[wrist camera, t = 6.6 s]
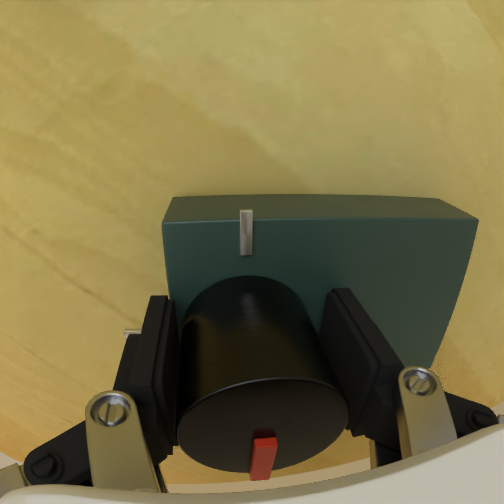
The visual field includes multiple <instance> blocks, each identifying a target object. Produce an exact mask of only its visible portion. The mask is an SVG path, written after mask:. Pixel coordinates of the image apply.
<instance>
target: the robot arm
mask: <svg viewBox="0 0 504 504" xmlns="http://www.w3.org/2000/svg"><path fill="white" fill-rule="evenodd" d="M319 338H320V340H321V343H322V345H323V347H324V349H325V351H326V353H327V356H328V358H329V360H330V362H331V364H332V367H333V369H334V371H335V373H336V375H337V378H338V380H339V382H340V384H341V386H342V389H343V391H344V393H345V395H346V397H347V400H348V403H349V407H350V414H349V420H348V423H347V425H346V427H345V429H346V430H349V429H350V431H351V434H352V436H353V437H356V436H361V435H365V437H367V438H369V446H370V463H371V470H367V471H363V472H360V473H355V474H351V475H348V476H343V477H339V478H334V479H329V480H325V481H319V482H314V483H309V484H303V485H297V486H290V487H283V488H276V489H267V490H257V491H247V492H232V493H209V494H180V493H179V494H178V493H169V492H168V489H167V486H166V483H165V480H164V477H163V474H162V470H161V467H160V464H159V463H161V462H162V461H163V460H165V459H166V458H167V455H173V446H179V444H178V442H177V439H176V433H175V424H176V403H177V386H178V370H179V356H180V341H179V334H178V327H177V319H176V311H175V303H174V300H168V296H167V295H161V296H151V297H150V300H149V304H148V308H147V311H146V315H145V319H144V323H143V326H142V330H141V334H129V335H128V337H127V340H126V343H125V347H124V350H123V354H122V357H121V361H120V365H119V368H118V372H117V376H116V380H115V383H114V387H113V390H111V391H105V392H101V393H99V394H97V395H95V396H94V397H93V398H92V399H91V400H90V401H89V402H88V404H87V406H86V409H85V420H84V421H83V422H81V423H79V424H78V425H76V426H74V427H72V428H71V429H69V430H67V431H66V432H64V433H62V434H60V435H59V436H57V437H55V438H53V439H52V440H50V441H48V442H46V443H44V444H43V445H41V446H39V447H37V448H35V449H34V450H33V451H31V452H30V453H29V454H28V456H27V457H26V458H25V461H24V464H23V465H20V466H19V465H18V464H17V463H15V464H13V465H10V466H8V467H5V468H3V469H0V504H504V415H498V416H497V417H496V415H495V414H494V412H493V411H492V410H491V409H490V408H488V407H486V406H484V405H482V404H479V403H476V402H473V401H470V400H467V399H464V398H462V397H459V396H456V395H453V394H450V393H447V392H445V391H444V390H443V387H442V384H441V381H440V379H439V378H438V376H437V375H436V374H435V373H434V372H433V371H431V370H430V369H428V368H425V367H422V366H409V367H406V368H405V367H404V365H403V364H402V362H401V361H400V359H399V358H398V356H397V355H396V353H395V352H394V350H393V349H392V347H391V346H390V344H389V343H388V341H387V340H386V338H385V337H384V335H383V334H382V332H381V331H380V329H379V328H378V327H377V325H376V324H375V323H374V322H373V321H372V320H371V318H370V317H369V315H368V314H367V312H366V311H365V309H364V308H363V307H362V305H361V304H360V302H359V301H358V300H357V298H356V297H355V295H354V294H353V292H352V291H351V290H350V288H348V287H345V288H333V289H332V291H331V293H327V295H326V300H325V306H324V312H323V318H322V324H321V330H320V335H319Z"/></svg>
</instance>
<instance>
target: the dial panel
mask: <svg viewBox="0 0 504 504" xmlns="http://www.w3.org/2000/svg"><path fill="white" fill-rule="evenodd" d="M478 222H479V220H478V219H477V218H475V217H473V216H471V215H470V214H468V213H466V212H464V211H462V210H460V209H458V208H456V207H454V206H452V205H450V204H448V203H446V202H444V201H442V200H440V199H433V198H416V197H395V196H368V195H318V194H270V195H220V196H192V197H173V198H172V200H171V202H170V205H169V207H168V209H167V212H166V214H165V216H164V219H163V221H162V235H163V246H164V255H165V265H166V274H167V282H168V290H169V298H170V300H174V303H175V311H176V319H177V327H178V334H179V341H180V344H181V332H182V323H183V318H184V315H185V312H186V310H187V308H188V306H189V305H190V304H191V302H192V301H193V300H194V298H195V297H196V296H197V295H198V294H199V293H201V292H202V291H203V290H205V289H206V288H207V287H209V286H211V285H213V284H214V283H217V282H219V281H221V280H224V279H228V278H231V277H237V276H247V275H252V276H262V277H267V278H270V279H274V280H276V281H279V282H281V283H283V284H285V285H286V286H288V287H289V288H291V289H292V290H293V291H294V292H295V293H296V294H297V295H298V296H299V298H300V299H301V301H302V302H303V304H304V306H305V308H306V310H307V313H308V315H309V317H310V319H311V321H312V323H313V325H314V328H315V330H316V332H317V334H318V336H319V335H320V330H321V324H322V318H323V312H324V306H325V300H326V295H327V293H331V291H332V289H333V288H345V287H348V288H350V290H351V291H352V292H353V294H354V295H355V297H356V298H357V300H358V301H359V302H360V304H361V305H362V307H363V308H364V309H365V311H366V312H367V314H368V315H369V317H370V318H371V320H372V321H373V322H374V323H375V324H376V325H377V327H378V328H379V329H380V331H381V332H382V334H383V335H384V337H385V338H386V340H387V341H388V343H389V344H390V346H391V347H392V349H393V350H394V352H395V353H396V355H397V356H398V358H399V359H400V361H401V362H402V364H403V365H404V367H405V368H406V367H409V366H422V367H425V368H428V369H429V368H430V367H431V365H432V363H433V361H434V358H435V356H436V354H437V351H438V349H439V346H440V344H441V342H442V339H443V337H444V334H445V332H446V329H447V326H448V324H449V321H450V318H451V316H452V313H453V310H454V307H455V304H456V301H457V298H458V295H459V292H460V289H461V286H462V283H463V280H464V276H465V273H466V270H467V266H468V262H469V259H470V255H471V251H472V247H473V243H474V239H475V235H476V231H477V226H478ZM141 330H142V329H124V335H125V339H127V337H128V335H129V334H141Z"/></svg>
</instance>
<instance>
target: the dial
mask: <svg viewBox="0 0 504 504" xmlns="http://www.w3.org/2000/svg"><path fill="white" fill-rule="evenodd" d="M349 414H350V407H349V403H348V400H347V397H346V395H345V393H344V391H343V389H342V386H341V384H340V382H339V380H338V378H337V375H336V373H335V371H334V369H333V367H332V364H331V362H330V360H329V358H328V356H327V353H326V351H325V349H324V347H323V345H322V343H321V340H320V338H319V336H318V334H317V332H316V330H315V328H314V325H313V323H312V321H311V319H310V317H309V315H308V313H307V310H306V308H305V306H304V304H303V302H302V301H301V299H300V298H299V296H298V295H297V294H296V293H295V292H294V291H293V290H292V289H291V288H289V287H288V286H286V285H285V284H283V283H281V282H279V281H276V280H274V279H270V278H267V277H262V276H252V275H247V276H237V277H231V278H228V279H224V280H221V281H219V282H217V283H214V284H213V285H211V286H209V287H207V288H206V289H205V290H203V291H202V292H201V293H199V294H198V295H197V296H196V297H195V298H194V300H193V301H192V302H191V304H190V305H189V306H188V308H187V310H186V312H185V315H184V318H183V323H182V332H181V344H180V356H179V370H178V386H177V403H176V424H175V433H176V439H177V442H178V444H179V445H180V447H181V449H182V450H183V451H184V452H185V453H186V454H187V455H188V456H189V457H190V458H192V459H193V460H195V461H197V462H198V463H201V464H203V465H205V466H208V467H211V468H214V469H218V470H222V471H228V472H238V473H250V480H251V481H257V480H268V479H269V478H270V475H271V471H272V470H277V469H281V468H285V467H289V466H292V465H295V464H298V463H300V462H303V461H305V460H307V459H309V458H311V457H313V456H315V455H317V454H318V453H320V452H322V451H323V450H324V449H326V448H327V447H328V446H330V445H331V444H332V443H333V442H334V441H335V440H336V439H337V438H338V437H339V436H340V435H341V433H342V432H343V431H344V429H345V427H346V425H347V423H348V420H349Z"/></svg>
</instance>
